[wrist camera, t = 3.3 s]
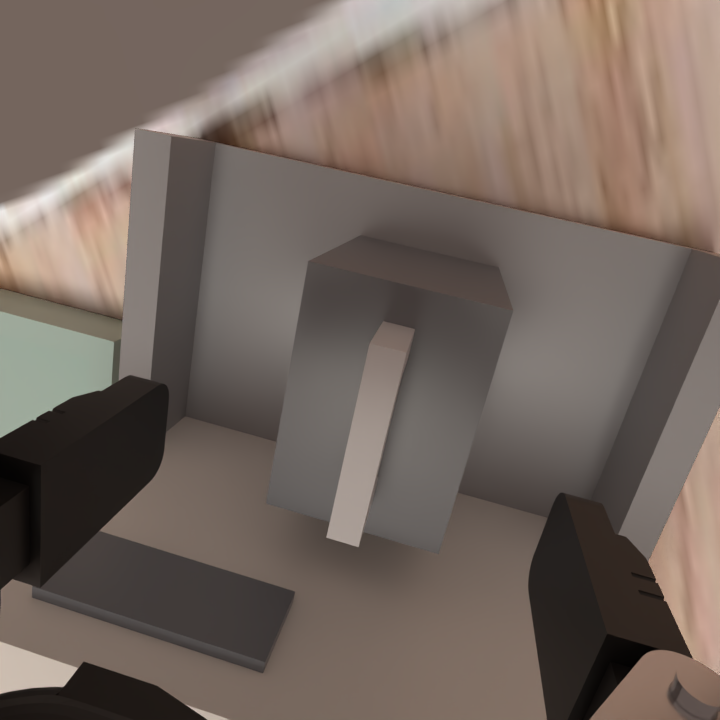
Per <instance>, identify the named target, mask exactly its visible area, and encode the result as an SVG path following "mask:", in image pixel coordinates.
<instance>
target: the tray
mask: <svg viewBox="0 0 720 720" xmlns="http://www.w3.org/2000/svg"><path fill="white" fill-rule="evenodd" d="M121 335H122V320H119V319H115V318H111V317H107V316H104V315H100V314H96V313H92V312H88V311H85V310H81V309H77V308H73V307H69V306H66V305H62V304H58V303H54V302H50V301H47V300H43V299H39V298H35V297H32V296H28V295H24V294H20V293H16V292H13V291H9V290H5V289H1V288H0V438H1V437H3V436H5V435H6V434H8V433H10V432H12V431H13V430H15V429H17V428H19V427H21V426H22V425H24V424H26V423H28V422H29V421H31V420H36V418H37V417H38V416H40V415H42V414H44V413H45V412H47V411H52V410H53V408H54V407H56V406H58V405H60V404H61V403H63V402H65V401H67V400H68V399H70V398H72V397H75V396H79V395H83V394H87V393H91V392H94V391H98V390H99V391H102V390H104V389H106V388H107V387H109V386H111V385H112V384H114V383H116V382H118V381H119V366H120V351H121Z"/></svg>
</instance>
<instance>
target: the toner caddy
mask: <svg viewBox="0 0 720 720" xmlns="http://www.w3.org/2000/svg"><path fill="white" fill-rule="evenodd" d="M512 314H513V308H512V305H511V302H510V299H509V296H508V293H507V290H506V287H505V284H504V282H503V279H502V276H501V273H500V270H499V267H494V266H490V265H486V264H482V263H477V262H473V261H469V260H465V259H460V258H456V257H452V256H447V255H443V254H439V253H435V252H430V251H426V250H422V249H418V248H413V247H409V246H405V245H401V244H396V243H392V242H388V241H383V240H379V239H375V238H371V237H366V236H362V235H360V236H358V237H356V238H354V239H352V240H350V241H348V242H346V243H344V244H342V245H340V246H338V247H336V248H334V249H331V250H329V251H327V252H325V253H323V254H321V255H319V256H317V257H315V258H313V259H311V260H309V261H308V265H307V271H306V276H305V282H304V288H303V293H302V299H301V305H300V311H299V316H298V322H297V328H296V333H295V339H294V345H293V351H292V356H291V362H290V368H289V373H288V379H287V385H286V391H285V396H284V402H283V408H282V414H281V419H280V425H279V431H278V436H277V442H276V448H275V454H274V459H273V465H272V471H271V476H270V482H269V488H268V494H267V499H266V504H269V505H272V506H276V507H279V508H283V509H286V510H289V511H293V512H296V513H300V514H303V515H306V516H310V517H313V518H317V519H320V520H324V521H327V522H330V523H329V528H328V532H327V537H326V538H329V539H333V540H336V541H339V542H343V543H346V544H350V545H353V546H356V547H359V544H360V540H361V537H362V534H363V532H364V533H368V534H371V535H375V536H378V537H381V538H385V539H388V540H392V541H395V542H399V543H402V544H405V545H409V546H412V547H416V548H419V549H422V550H426V551H429V552H433V553H436V554H439V551H440V548H441V545H442V541H443V538H444V535H445V532H446V528H447V525H448V522H449V519H450V515H451V512H452V509H453V506H454V502H455V499H456V496H457V493H458V489H459V486H460V483H461V480H462V476H463V473H464V470H465V467H466V463H467V460H468V457H469V454H470V450H471V447H472V444H473V441H474V437H475V434H476V431H477V428H478V424H479V421H480V418H481V415H482V411H483V408H484V405H485V401H486V398H487V395H488V392H489V388H490V385H491V382H492V379H493V375H494V372H495V369H496V366H497V362H498V359H499V356H500V353H501V349H502V346H503V343H504V340H505V336H506V333H507V330H508V327H509V323H510V320H511V317H512Z"/></svg>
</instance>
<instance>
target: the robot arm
mask: <svg viewBox="0 0 720 720" xmlns="http://www.w3.org/2000/svg"><path fill="white" fill-rule="evenodd" d="M168 405H169V389H168V387H167V385H165V384H163V383H159V382H155V381H152V380H148V379H144V378H141V377H137V376H133V375H128V376H126V377H124V378H123V379H121V380H119V381H118V382H116V383H114V384H112V385H111V386H109V387H107V388H106V389H104V390H102V391H99V390H98V391H94V392H91V393H87V394H83V395H79V396H75V397H72V398H70V399H68V400H67V401H65V402H63V403H61V404H60V405H58V406H56V407H54V408H53V410H52V411H47V412H45V413H44V414H42V415H40V416H38V417H37V418H36V420H31V421H29V422H28V423H26V424H24V425H22V426H21V427H19V428H17V429H15V430H13V431H12V432H10V433H8V434H6V435H5V436H3V437H1V438H0V609H1V589H2V588H3V587H4V586H5V585H7V584H8V583H9V582H10V581H11V580H12V579H13V580H16V581H20V582H23V583H26V584H29V585H32V586H35V587H38V588H41V587H42V586H43V585H44V584H45V583H46V582H47V581H48V580H49V579H50V578H51V577H52V576H53V575H54V574H55V573H56V572H57V571H58V570H59V569H60V568H61V567H63V566H64V565H65V564H66V563H67V562H68V561H69V560H70V559H71V558H72V557H73V556H74V555H75V554H76V553H77V552H78V551H79V550H80V549H81V548H82V547H83V546H84V545H85V544H86V543H87V542H88V541H89V540H90V539H91V538H92V537H93V536H95V535H96V534H97V533H98V532H99V531H100V530H101V529H102V528H103V527H104V526H105V525H106V524H107V523H108V522H109V521H110V520H111V519H112V518H113V517H114V516H115V515H116V514H117V513H118V512H119V511H120V510H121V509H122V508H123V507H124V506H126V505H127V504H128V503H129V502H130V501H131V500H132V499H133V498H134V497H135V496H136V495H137V494H138V493H139V492H140V491H141V490H142V489H143V488H144V487H145V486H146V485H147V484H148V483H149V482H150V481H151V480H152V479H153V478H154V476H155V475H156V473H157V471H158V469H159V467H160V465H161V462H162V459H163V455H164V448H165V437H166V426H167V415H168ZM655 580H656V578H655V576H654V574H653V572H652V570H651V568H650V566H649V563H648V561H647V559H646V557H645V556H644V555H643V554H642V553H641V552H640V551H639V550H638V549H637V548H636V547H635V546H634V545H633V544H632V543H631V541H630V540H629V539H628V538H627V537H625V536H622V535H618V534H615V532H614V530H613V528H612V525H611V523H610V520H609V518H608V515H607V513H606V510H605V508H604V506H603V504H602V503H599V502H596V501H592V500H588V499H585V498H581V497H577V496H574V495H570V494H566V493H559V494H558V496H557V497H556V499H555V501H554V503H553V506H552V508H551V511H550V513H549V516H548V519H547V521H546V524H545V527H544V529H543V532H542V535H541V537H540V540H539V542H538V545H537V548H536V550H535V553H534V556H533V559H532V562H531V566H530V571H529V578H528V593H529V599H530V606H531V613H532V620H533V627H534V634H535V641H536V648H537V654H538V661H539V668H540V675H541V682H542V689H543V696H544V703H545V709H546V716H547V720H720V676H719V675H718V674H716V673H715V672H714V671H712V670H711V669H709V668H708V667H706V666H705V665H703V664H701V663H700V662H698V661H696V660H694V659H693V658H692V656H691V654H690V652H689V649H688V647H687V645H686V643H685V641H684V639H683V637H682V634H681V632H680V630H679V628H678V626H677V624H676V621H675V619H674V617H673V615H672V613H671V611H670V609H669V606H668V604H667V602H665V601H664V596H663V594H662V591H661V589H660V587H659V585H658V583H655ZM0 720H207V719H206V718H204V717H203V716H201V715H200V714H198V713H197V712H195V711H194V710H192V709H191V708H189V707H188V706H187V705H185V704H184V703H182V702H181V701H179V700H178V699H176V698H175V697H173V696H172V695H170V694H169V693H167V692H166V691H164V690H163V689H161V688H160V687H158V686H157V685H154V684H151V683H148V682H145V681H142V680H139V679H136V678H133V677H129V676H126V675H123V674H120V673H117V672H114V671H111V670H108V669H105V668H102V667H99V666H96V665H93V664H90V663H87V662H83V663H82V664H81V665H80V667H79V668H78V669H77V670H76V672H75V673H74V674H73V676H72V677H71V678H70V679H69V681H68V682H67V683H66V684H65V686H64V687H40V688H29V689H23V690H16V691H10V692H6V693H2V694H0Z"/></svg>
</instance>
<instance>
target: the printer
mask: <svg viewBox="0 0 720 720" xmlns="http://www.w3.org/2000/svg"><path fill="white" fill-rule="evenodd" d="M360 235H362V236H366V237H371V238H375V239H379V240H383V241H388V242H392V243H396V244H401V245H405V246H409V247H413V248H418V249H422V250H426V251H430V252H435V253H439V254H443V255H447V256H452V257H456V258H460V259H465V260H469V261H473V262H477V263H482V264H486V265H490V266H494V267H499V270H500V273H501V276H502V279H503V282H504V284H505V287H506V290H507V293H508V296H509V299H510V302H511V305H512V308H513V314H512V317H511V320H510V323H509V327H508V330H507V333H506V336H505V340H504V343H503V346H502V349H501V353H500V356H499V359H498V362H497V366H496V369H495V372H494V375H493V379H492V382H491V385H490V388H489V392H488V395H487V398H486V401H485V405H484V408H483V411H482V415H481V418H480V421H479V424H478V428H477V431H476V434H475V437H474V441H473V444H472V447H471V450H470V454H469V457H468V460H467V463H466V467H465V470H464V473H463V476H462V480H461V483H460V486H459V489H458V493H457V496H456V499H455V502H454V506H453V509H452V512H451V515H450V519H449V522H448V525H447V528H446V532H445V535H444V538H443V541H442V545H441V548H440V551H439V554H436V553H433V552H429V551H426V550H422V549H419V548H416V547H412V546H409V545H405V544H402V543H399V542H395V541H392V540H388V539H385V538H381V537H378V536H375V535H371V534H368V533H364V532H363V534H362V537H361V540H360V544H359V547H356V546H353V545H350V544H346V543H343V542H339V541H336V540H333V539H329V538H326V537H327V532H328V528H329V523H330V522H327V521H324V520H320V519H317V518H313V517H310V516H306V515H303V514H300V513H296V512H293V511H289V510H286V509H283V508H279V507H276V506H272V505H269V504H266V499H267V494H268V488H269V482H270V476H271V471H272V465H273V459H274V454H275V448H276V442H277V436H278V431H279V425H280V419H281V414H282V408H283V402H284V396H285V391H286V385H287V379H288V373H289V368H290V362H291V356H292V351H293V345H294V339H295V333H296V328H297V322H298V316H299V311H300V305H301V299H302V293H303V288H304V282H305V276H306V271H307V265H308V261H309V260H311V259H313V258H315V257H317V256H319V255H321V254H323V253H325V252H327V251H329V250H331V249H334V248H336V247H338V246H340V245H342V244H344V243H346V242H348V241H350V240H352V239H354V238H356V237H358V236H360ZM128 375H133V376H137V377H141V378H144V379H148V380H152V381H155V382H159V383H163V384H165V385H167V387H168V389H169V405H168V415H167V426H166V437H165V448H164V455H163V459H162V462H161V465H160V467H159V469H158V471H157V473H156V475H155V476H154V478H153V479H152V480H151V481H150V482H149V483H148V484H147V485H146V486H145V487H144V488H143V489H142V490H141V491H140V492H139V493H138V494H137V495H136V496H135V497H134V498H133V499H132V500H131V501H130V502H129V503H128V504H127V505H126V506H124V507H123V508H122V509H121V510H120V511H119V512H118V513H117V514H116V515H115V516H114V517H113V518H112V519H111V520H110V521H109V522H108V523H107V524H106V525H105V526H104V527H103V528H102V529H101V530H100V531H99V532H98V533H97V534H96V535H95V536H93V537H92V538H91V539H90V540H89V541H88V542H87V543H86V544H85V545H84V546H83V547H82V548H81V549H80V550H79V551H78V552H77V553H76V554H75V555H74V556H73V557H72V558H71V559H70V560H69V561H68V562H67V563H66V564H65V565H64V566H63V567H61V568H60V569H59V570H58V571H57V572H56V573H55V574H54V575H53V576H52V577H51V578H50V579H49V580H48V581H47V582H46V583H45V584H44V585H43V586H42V587H41V588H38V587H35V586H32V585H29V584H26V583H23V582H20V581H16V580H13V579H12V580H11V581H10V582H9V583H8V584H7V585H5V586H4V587H3V588H2V589H1V609H0V694H2V693H6V692H10V691H16V690H23V689H29V688H40V687H64V686H65V684H66V683H67V682H68V681H69V679H70V678H71V677H72V676H73V674H74V673H75V672H76V670H77V669H78V668H79V667H80V665H81V664H82V663H83V662H87V663H90V664H93V665H96V666H99V667H102V668H105V669H108V670H111V671H114V672H117V673H120V674H123V675H126V676H129V677H133V678H136V679H139V680H142V681H145V682H148V683H151V684H154V685H157V686H158V687H160V688H161V689H163V690H164V691H166V692H167V693H169V694H170V695H172V696H173V697H175V698H176V699H178V700H179V701H181V702H182V703H184V704H185V705H187V706H188V707H189V708H191V709H192V710H194V711H195V712H197V713H198V714H200V715H201V716H203V717H204V718H206V719H207V720H547V716H546V709H545V703H544V696H543V689H542V682H541V675H540V668H539V661H538V654H537V648H536V641H535V634H534V627H533V620H532V613H531V606H530V599H529V593H528V578H529V571H530V566H531V562H532V559H533V556H534V553H535V550H536V548H537V545H538V542H539V540H540V537H541V535H542V532H543V529H544V527H545V524H546V521H547V519H548V516H549V513H550V511H551V508H552V506H553V503H554V501H555V499H556V497H557V496H558V494H559V493H566V494H570V495H574V496H577V497H581V498H585V499H588V500H592V501H596V502H599V503H602V504H603V506H604V508H605V510H606V513H607V515H608V518H609V520H610V523H611V525H612V528H613V530H614V532H615V534H618V535H622V536H625V537H627V538H628V539H629V540H630V541H631V543H632V544H633V545H634V546H635V547H636V548H637V549H638V550H639V551H640V552H641V553H642V554H643V555H644V556H645V557H646V559H647V561H649V558H650V556H651V554H652V552H653V550H654V548H655V545H656V543H657V541H658V539H659V537H660V535H661V532H662V530H663V528H664V526H665V524H666V522H667V520H668V517H669V515H670V513H671V511H672V509H673V507H674V504H675V502H676V500H677V498H678V496H679V494H680V491H681V489H682V487H683V485H684V483H685V481H686V478H687V476H688V474H689V472H690V470H691V468H692V465H693V463H694V461H695V459H696V457H697V455H698V452H699V450H700V448H701V446H702V444H703V442H704V439H705V437H706V435H707V433H708V431H709V429H710V426H711V424H712V422H713V420H714V418H715V416H716V413H717V411H718V409H719V407H720V254H717V253H713V252H709V251H704V250H700V249H695V248H691V247H686V246H682V245H677V244H673V243H668V242H664V241H659V240H655V239H650V238H646V237H641V236H637V235H632V234H628V233H623V232H619V231H614V230H610V229H605V228H601V227H596V226H592V225H587V224H583V223H578V222H574V221H569V220H565V219H560V218H556V217H551V216H547V215H542V214H538V213H533V212H529V211H524V210H520V209H515V208H511V207H506V206H502V205H497V204H493V203H488V202H484V201H479V200H475V199H470V198H466V197H461V196H457V195H452V194H448V193H443V192H439V191H434V190H430V189H425V188H421V187H416V186H412V185H407V184H403V183H398V182H394V181H389V180H385V179H380V178H376V177H371V176H367V175H362V174H358V173H353V172H349V171H344V170H340V169H335V168H331V167H326V166H322V165H317V164H313V163H308V162H304V161H299V160H295V159H290V158H286V157H281V156H277V155H272V154H268V153H263V152H259V151H254V150H250V149H245V148H241V147H236V146H232V145H227V144H223V143H218V142H214V141H209V140H205V139H200V138H194V137H188V136H182V135H176V134H169V133H163V132H157V131H151V130H144V129H138V128H135V138H134V153H133V168H132V183H131V198H130V214H129V229H128V244H127V259H126V275H125V290H124V305H123V320H122V335H121V351H120V366H119V380H121V379H123V378H124V377H126V376H128Z"/></svg>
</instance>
